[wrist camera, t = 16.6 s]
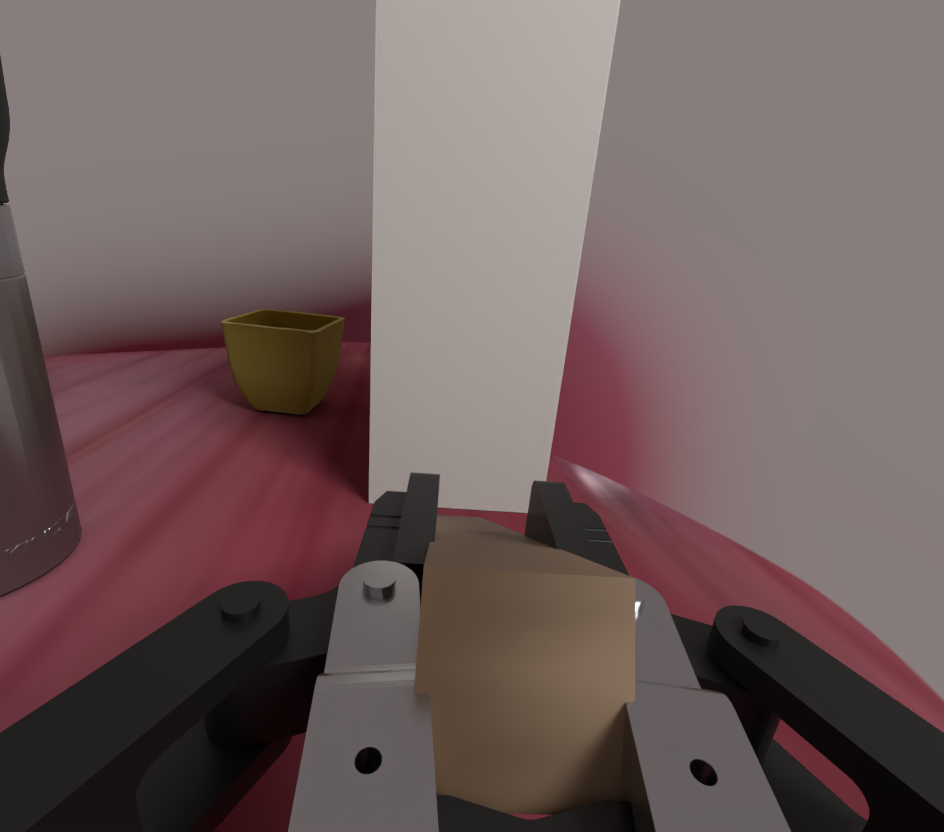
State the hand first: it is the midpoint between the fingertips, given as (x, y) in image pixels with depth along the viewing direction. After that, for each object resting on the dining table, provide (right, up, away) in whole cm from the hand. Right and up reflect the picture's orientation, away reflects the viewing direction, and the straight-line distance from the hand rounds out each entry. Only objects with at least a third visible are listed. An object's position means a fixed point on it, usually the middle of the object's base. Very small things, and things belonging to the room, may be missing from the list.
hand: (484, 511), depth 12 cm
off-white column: (-2, -2, +27) cm, 28 cm away
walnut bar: (-1, -4, +4) cm, 5 cm away
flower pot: (-19, +3, +38) cm, 42 cm away
